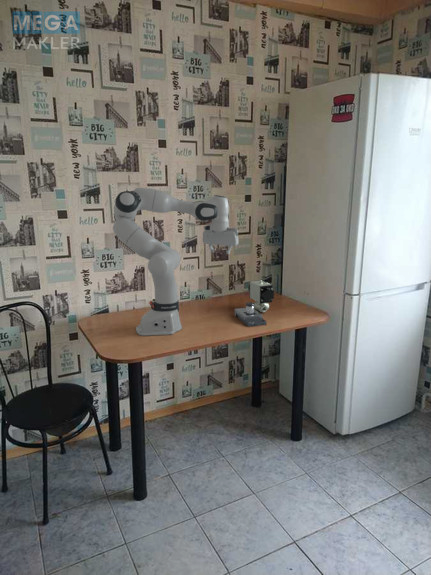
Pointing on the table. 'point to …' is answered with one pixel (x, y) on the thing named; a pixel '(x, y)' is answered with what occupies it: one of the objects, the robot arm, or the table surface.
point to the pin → (250, 308)
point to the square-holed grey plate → (250, 317)
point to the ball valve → (261, 294)
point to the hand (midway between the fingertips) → (220, 253)
